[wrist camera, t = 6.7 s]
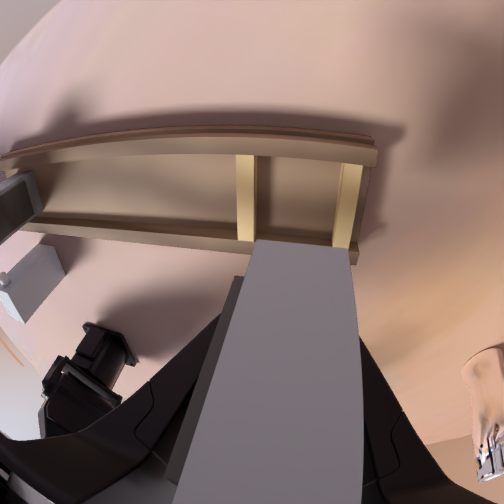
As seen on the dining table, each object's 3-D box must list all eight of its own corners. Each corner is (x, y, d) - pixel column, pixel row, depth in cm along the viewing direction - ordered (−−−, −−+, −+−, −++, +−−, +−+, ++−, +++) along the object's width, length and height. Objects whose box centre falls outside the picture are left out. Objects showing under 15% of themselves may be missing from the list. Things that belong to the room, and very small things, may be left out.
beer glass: (503, 335, 22) (539, 451, 10) (504, 362, 24) (530, 460, 12) (453, 363, 25) (475, 482, 13) (461, 385, 28) (477, 486, 15)
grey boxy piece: (347, 248, 9) (358, 525, 3) (323, 346, 12) (306, 530, 6) (244, 238, 10) (149, 496, 3) (246, 337, 13) (198, 514, 6)
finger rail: (351, 248, 20) (367, 353, 13) (27, 220, 25) (-29, 269, 17) (370, 136, 16) (423, 195, 8) (9, 151, 20) (-59, 192, 13)
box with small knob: (51, 237, 25) (2, 284, 19) (65, 275, 28) (25, 323, 22) (33, 235, 26) (-13, 278, 19) (48, 271, 29) (8, 315, 22)
